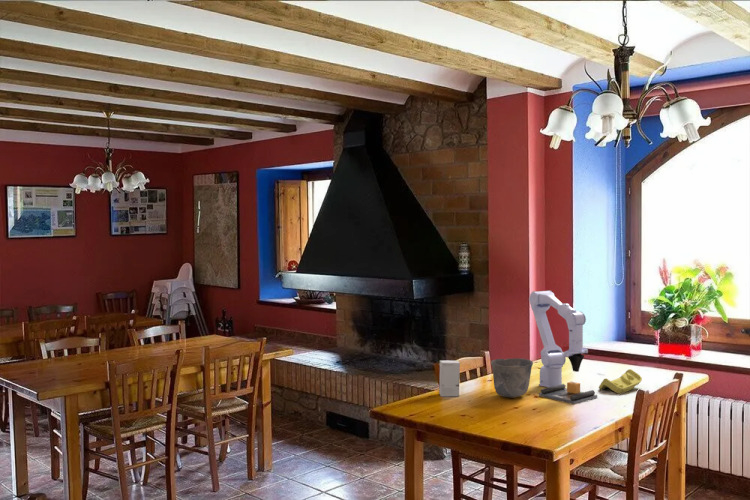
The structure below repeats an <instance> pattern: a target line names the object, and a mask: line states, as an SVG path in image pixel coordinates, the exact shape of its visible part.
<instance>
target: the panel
mask: <svg viewBox="0 0 750 500" xmlns="http://www.w3.org/2000/svg"><path fill="white" fill-rule="evenodd" d="M583 392H584V391H580V393H583ZM577 394H579V393H577ZM572 395H575V394H574V393H570V392H567V387H565V388H564V389H560V390H556V391H552V392H548V393H544V394H543V393H541V392H539V393H538V397H541V398H546V399H551V400H555V401H559V402H563V403H567V404H571V405H576V404H579V403H580V404H581V403H584V402H587V401H591V400H594V399H598V395H597V394H594V395H591V396H587V397H584V398H580V399H576V400H571V399H570V396H572Z"/></svg>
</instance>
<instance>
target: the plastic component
mask: <svg viewBox="0 0 750 500" xmlns="http://www.w3.org/2000/svg"><path fill="white" fill-rule="evenodd" d="M642 381H643V377H642V376H641V374H639V373H637V372H636V371H635V370H633V369H627V370H626V371H625V372H624V373H623V374H621V375H620V377H618V378H615V379H613V380H610V379H608V378H603V380H602V381H601V383H600V384H599V386H598V389H599V390H605V389H607V388H609V389H610V390H611V391H613V392H614V393H616V394H619V395H620V393H621V394H624V393H626V392H629V391H631V390H634V389H635V387H636V386H638V385H639V384H640V383H641V382H642Z"/></svg>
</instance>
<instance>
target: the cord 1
mask: <svg viewBox="0 0 750 500" xmlns="http://www.w3.org/2000/svg"><path fill="white" fill-rule="evenodd" d="M565 385H566V384H564V383H562V384H561V385H557V386H552V387H544V388H541V390H540V393H543V394H544V393H548V392H552V391H556V390H560V389H564V388H566V386H565Z"/></svg>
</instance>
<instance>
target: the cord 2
mask: <svg viewBox="0 0 750 500" xmlns="http://www.w3.org/2000/svg"><path fill="white" fill-rule="evenodd" d="M582 392H583V393H579V394H575V395H572V396H570V399H571V400H576V399H580V398H584V397H587V396H591V395H596V392H595V390H593V389H591V390H588V391H585V392H584V391H582Z"/></svg>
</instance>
